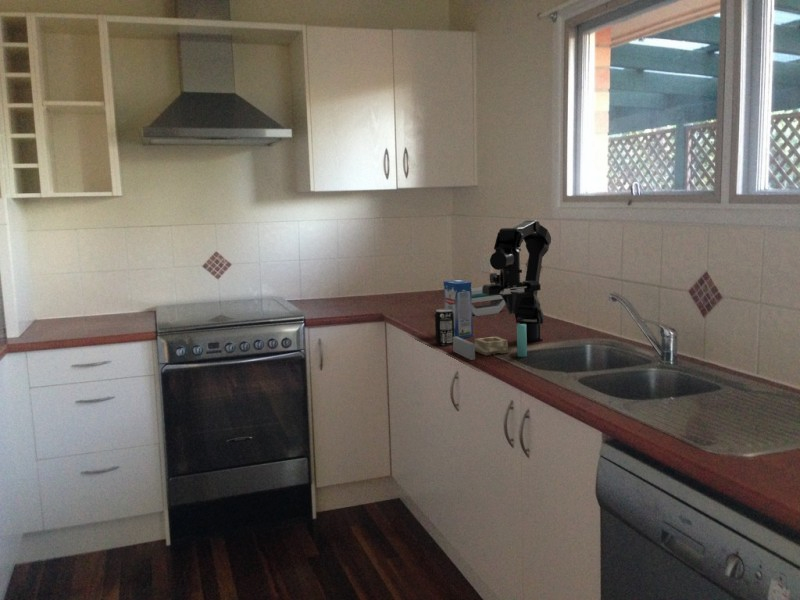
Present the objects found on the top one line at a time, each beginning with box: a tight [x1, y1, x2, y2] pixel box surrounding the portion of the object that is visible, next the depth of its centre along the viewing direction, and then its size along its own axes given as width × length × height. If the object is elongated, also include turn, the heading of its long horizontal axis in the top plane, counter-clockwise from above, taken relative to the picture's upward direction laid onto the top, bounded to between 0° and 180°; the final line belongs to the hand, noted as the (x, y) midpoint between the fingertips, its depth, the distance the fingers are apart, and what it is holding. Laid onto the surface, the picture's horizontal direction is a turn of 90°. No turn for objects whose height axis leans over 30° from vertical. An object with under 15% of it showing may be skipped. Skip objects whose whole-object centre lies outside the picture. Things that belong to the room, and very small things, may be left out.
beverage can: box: [434, 308, 455, 346], centre depth 253 cm, size 7×7×12 cm
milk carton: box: [443, 279, 474, 339], centre depth 266 cm, size 10×6×20 cm, turn 23°
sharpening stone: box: [471, 286, 510, 317], centre depth 313 cm, size 25×8×11 cm, turn 117°
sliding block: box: [474, 336, 509, 356], centre depth 237 cm, size 8×8×4 cm
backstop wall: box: [452, 336, 476, 361], centre depth 234 cm, size 2×14×5 cm, turn 19°
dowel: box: [516, 323, 528, 358], centre depth 230 cm, size 3×3×10 cm
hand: (512, 313), depth 239 cm, fingers closed
